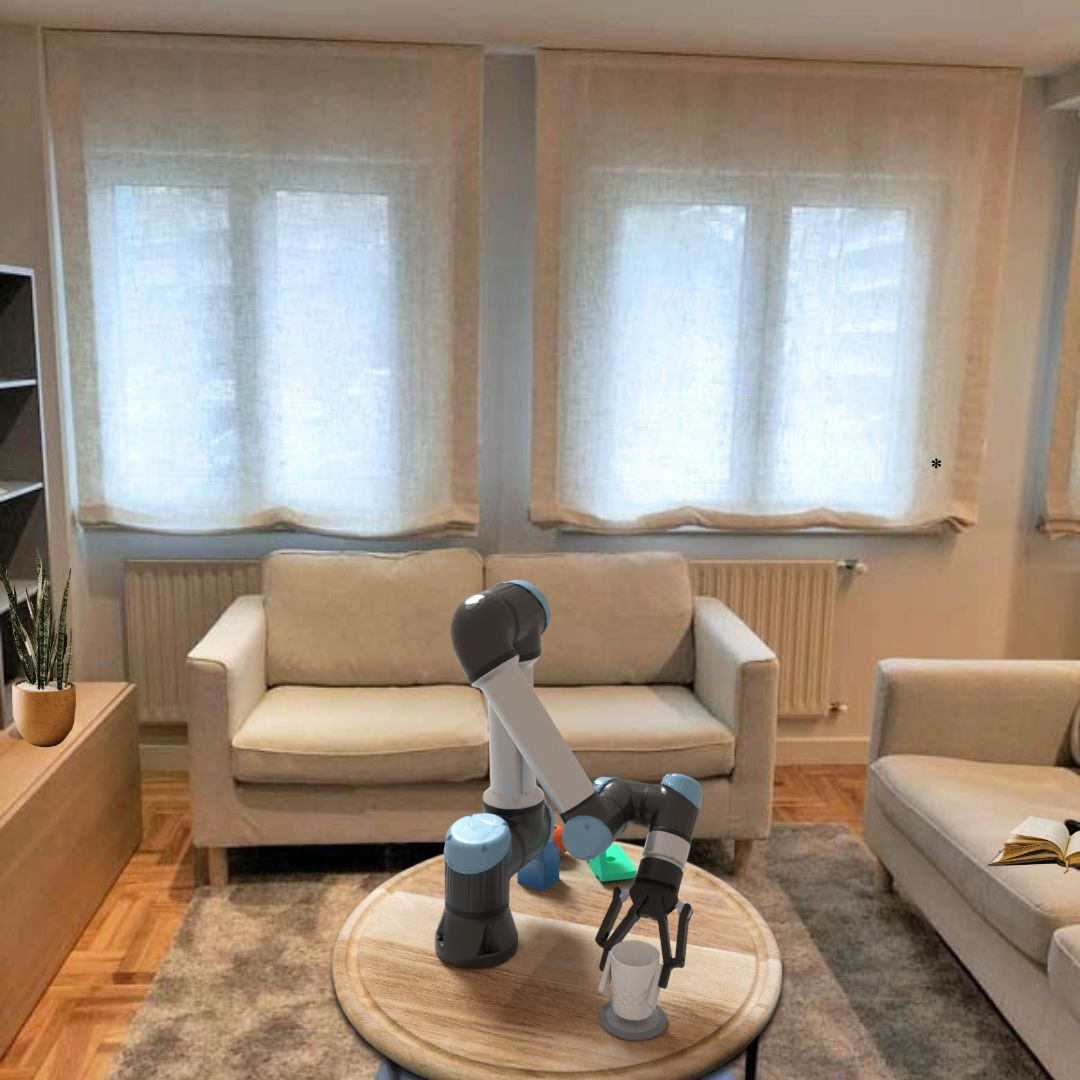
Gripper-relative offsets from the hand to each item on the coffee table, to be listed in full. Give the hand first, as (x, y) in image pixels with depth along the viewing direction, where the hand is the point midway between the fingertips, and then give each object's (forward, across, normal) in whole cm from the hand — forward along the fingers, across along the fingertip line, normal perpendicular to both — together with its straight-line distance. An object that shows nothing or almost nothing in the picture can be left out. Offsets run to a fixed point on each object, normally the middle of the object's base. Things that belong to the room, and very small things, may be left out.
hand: (626, 1000), depth 182 cm
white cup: (0, 0, -5) cm, 5 cm away
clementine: (-31, +35, -39) cm, 61 cm away
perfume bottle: (-23, +33, -31) cm, 51 cm away
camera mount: (-30, +22, -39) cm, 54 cm away
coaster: (+2, 0, -6) cm, 7 cm away
